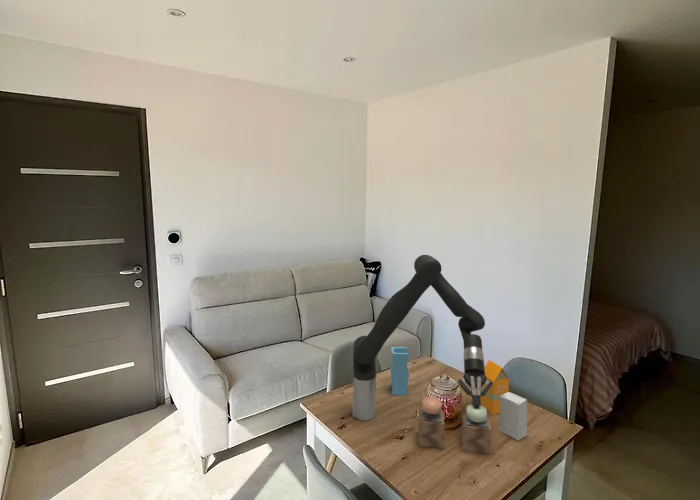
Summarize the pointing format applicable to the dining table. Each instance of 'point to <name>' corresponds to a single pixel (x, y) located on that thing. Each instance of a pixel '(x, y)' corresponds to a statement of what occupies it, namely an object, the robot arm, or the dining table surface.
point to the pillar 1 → (431, 429)
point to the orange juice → (494, 387)
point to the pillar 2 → (475, 435)
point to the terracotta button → (431, 405)
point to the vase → (399, 371)
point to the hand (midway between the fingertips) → (476, 407)
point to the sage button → (476, 413)
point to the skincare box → (513, 415)
